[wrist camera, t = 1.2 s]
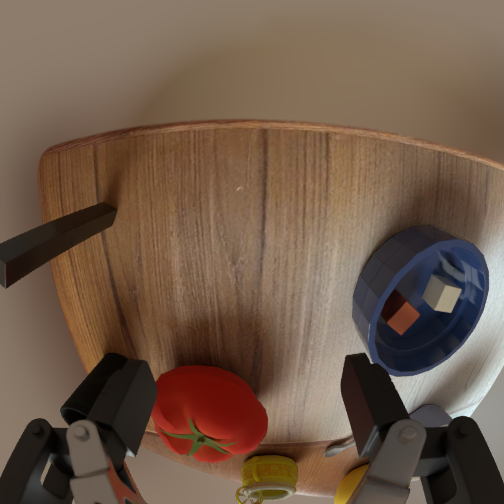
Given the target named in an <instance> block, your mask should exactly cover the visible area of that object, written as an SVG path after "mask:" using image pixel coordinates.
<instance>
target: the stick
mask: <svg viewBox="0 0 504 504" xmlns="http://www.w3.org/2000/svg"><path fill="white" fill-rule="evenodd" d="M116 212H117V209H115V208H113V207H112V206H110V205H108V204H106V203H104V202H102V203H99V204H96V205H94V206H91V207H88V208H85V209H82V210H79V211H77V212H74V213H71V214H69V215H66V216H63V217H61V218H58V219H56V220H53V221H51V222H48V223H46V224H43V225H41V226H39V227H36V228H34V229H31V230H29V231H27V232H25V233H23V234H20V235H18V236H16V237H13V238H12V239H9V240H7V241H5V242H3V243H1V244H0V284H1V285H2V286H3V287H4V288H5V289H6V288H8V287H9V286H11V285H12V284H14V283H15V282H17V281H18V280H20V279H21V278H23V277H24V276H26V275H27V274H29V273H31V272H32V271H34V270H35V269H37V268H38V267H40V266H42V265H43V264H45V263H46V262H48V261H50V260H51V259H53V258H55V257H56V256H58V255H60V254H62V253H63V252H65V251H67V250H68V249H70V248H72V247H74V246H75V245H77V244H79V243H81V242H83V241H84V240H86V239H88V238H90V237H92V236H94V235H95V234H97V233H99V232H101V231H103V230H105V229H107V228H109V227H111V226H112V224H113V221H114V218H115V215H116Z"/></svg>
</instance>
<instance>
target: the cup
mask: <svg viewBox="0 0 504 504" xmlns="http://www.w3.org/2000/svg"><path fill="white" fill-rule="evenodd" d="M127 360H128V359H127V358H125V357H124V356H122V355H119V354H116V353H108V354H106V355H105V356H104V358H103V359H102V360H101V361H100V362H99V363H98V364H97V366H96V367H95V368H94V369H93V370H92V371H91V373H90V374H89V375H88V376H87V377H86V379H85V380H84V381H83V382H82V383H81V384H80V385H79V387H78V388H77V389H76V390H75V391H74V393H73V394H72V395H71V397H70V398H69V399H68V400H67V401H66V402H65V404H64V405H63V406H62V407H61V409H60V412H61V415H62V417H63V419H64V420H65V421H66V423H67V424H68V425H69V426H70V425H71V424H72V423H74V422H76V421H78V420H85V419H86V418H87V416H88V414H89V412H90V411H91V409H92V407H93V405H94V403H95V402H96V400H97V398H98V396H99V395H100V394H101V391H102V389H103V388H104V387H105V384H106V382H107V381H108V379H109V377H110V376H111V375H112V374H113V373H115V372H116V371H117V370H118V369H120V370H122V369H123V367H124V365H125V363H126V362H127Z"/></svg>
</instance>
